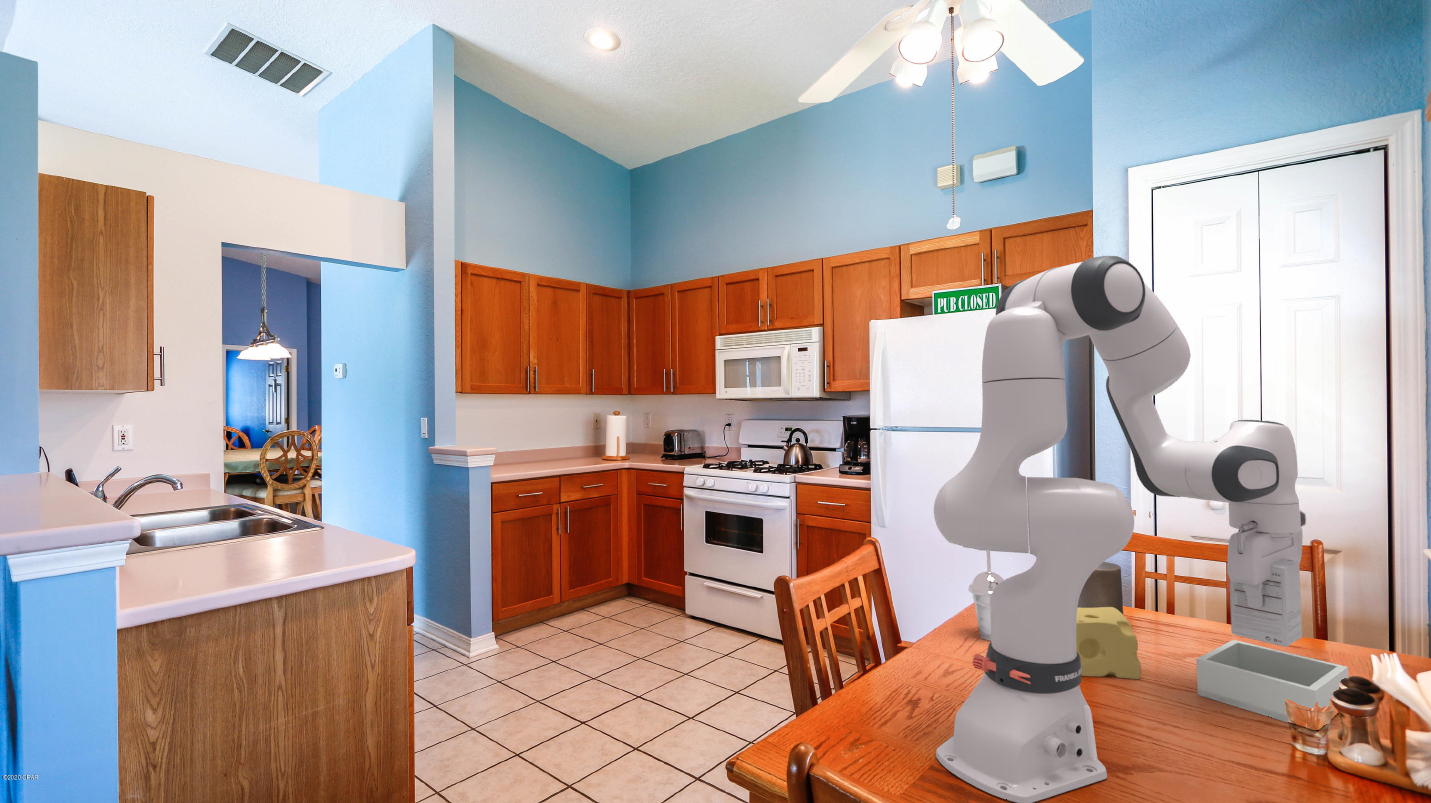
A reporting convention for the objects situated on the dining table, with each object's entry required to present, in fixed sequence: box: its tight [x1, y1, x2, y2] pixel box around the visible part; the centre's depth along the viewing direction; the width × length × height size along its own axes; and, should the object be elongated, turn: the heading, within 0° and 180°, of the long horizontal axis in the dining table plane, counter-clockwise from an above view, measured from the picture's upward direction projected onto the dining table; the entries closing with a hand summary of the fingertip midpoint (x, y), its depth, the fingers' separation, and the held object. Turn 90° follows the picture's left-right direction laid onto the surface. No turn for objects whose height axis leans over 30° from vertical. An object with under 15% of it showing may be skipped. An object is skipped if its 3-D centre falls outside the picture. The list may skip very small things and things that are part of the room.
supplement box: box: [1229, 559, 1303, 648], centre depth 104 cm, size 7×7×13 cm
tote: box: [1195, 639, 1349, 724], centre depth 103 cm, size 15×15×6 cm
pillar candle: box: [1077, 561, 1124, 615], centre depth 139 cm, size 10×10×15 cm
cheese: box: [1076, 607, 1142, 680], centre depth 118 cm, size 10×11×10 cm
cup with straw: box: [962, 546, 1005, 642], centre depth 135 cm, size 8×9×20 cm
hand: (1266, 601), depth 104 cm, fingers closed on supplement box, 7 cm apart
